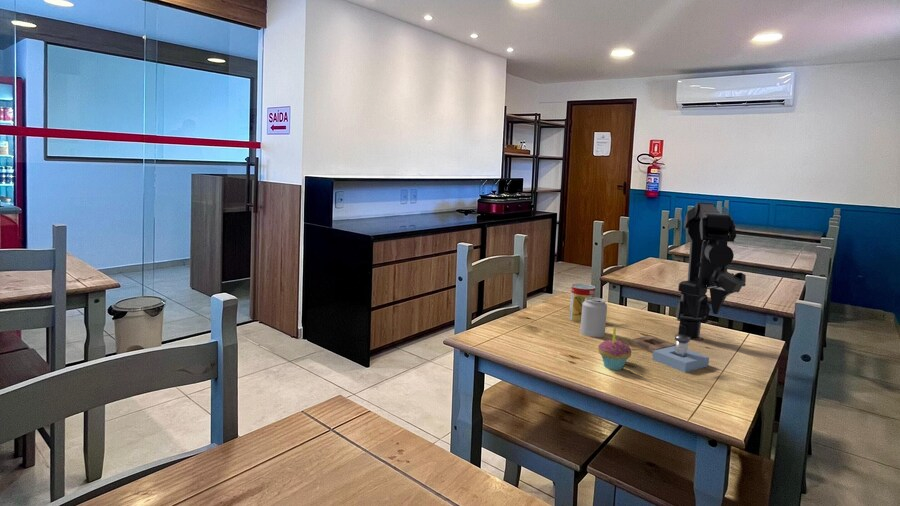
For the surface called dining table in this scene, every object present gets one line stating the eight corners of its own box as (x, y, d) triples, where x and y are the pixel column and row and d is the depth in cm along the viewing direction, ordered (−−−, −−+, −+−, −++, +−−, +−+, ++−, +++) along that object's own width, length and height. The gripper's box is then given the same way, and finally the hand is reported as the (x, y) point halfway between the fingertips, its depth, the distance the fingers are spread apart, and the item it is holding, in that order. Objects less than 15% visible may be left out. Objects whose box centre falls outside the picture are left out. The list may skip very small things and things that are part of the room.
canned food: (594, 323, 181) (597, 289, 179) (571, 322, 181) (574, 288, 179) (589, 317, 189) (592, 283, 187) (567, 316, 189) (569, 283, 187)
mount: (649, 343, 162) (650, 335, 162) (675, 352, 155) (676, 344, 154) (629, 347, 158) (630, 339, 157) (654, 357, 150) (655, 348, 150)
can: (605, 341, 163) (608, 303, 161) (580, 338, 164) (583, 301, 162) (603, 333, 170) (606, 297, 168) (579, 331, 171) (582, 295, 169)
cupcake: (624, 375, 136) (629, 330, 134) (592, 367, 141) (595, 324, 139) (633, 365, 144) (637, 322, 141) (601, 358, 148) (605, 316, 146)
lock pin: (677, 360, 147) (680, 333, 145) (690, 365, 144) (693, 337, 142) (669, 363, 145) (672, 335, 143) (681, 367, 142) (684, 339, 140)
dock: (675, 357, 151) (676, 345, 150) (707, 369, 143) (709, 357, 142) (651, 362, 146) (653, 350, 145) (684, 376, 137) (685, 363, 137)
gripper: (719, 268, 132) (712, 328, 135) (761, 263, 142) (753, 319, 145) (680, 260, 142) (673, 317, 144) (721, 256, 151) (715, 309, 154)
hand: (705, 316), depth 147 cm, fingers open, 9 cm apart
